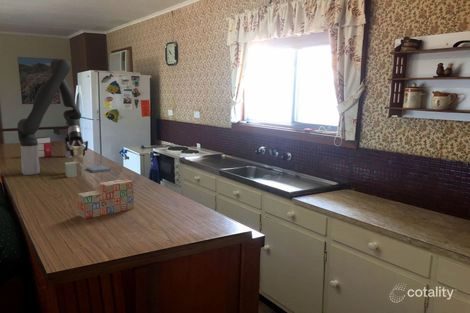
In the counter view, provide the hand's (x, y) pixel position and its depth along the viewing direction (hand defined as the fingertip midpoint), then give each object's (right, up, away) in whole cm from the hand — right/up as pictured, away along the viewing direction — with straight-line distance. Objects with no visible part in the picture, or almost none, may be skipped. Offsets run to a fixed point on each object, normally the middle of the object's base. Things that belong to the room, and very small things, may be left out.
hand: (78, 155), depth 231 cm
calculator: (-50, -1, +58) cm, 76 cm away
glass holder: (-28, -1, +62) cm, 68 cm away
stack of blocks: (+42, -24, -73) cm, 88 cm away
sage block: (-1, -12, -7) cm, 14 cm away
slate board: (+8, -9, +11) cm, 17 cm away
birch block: (-1, -5, +2) cm, 5 cm away
